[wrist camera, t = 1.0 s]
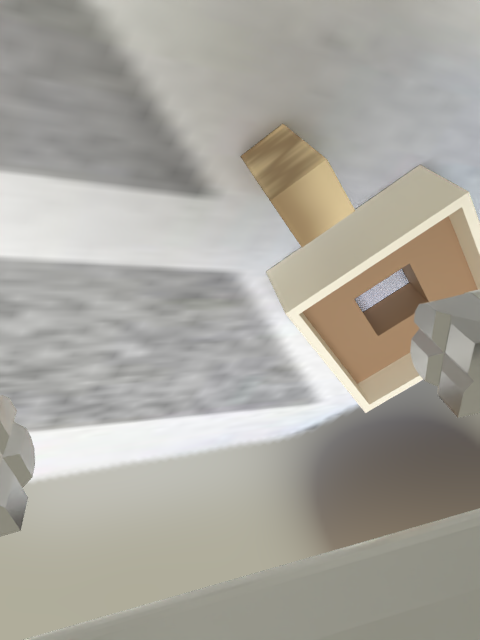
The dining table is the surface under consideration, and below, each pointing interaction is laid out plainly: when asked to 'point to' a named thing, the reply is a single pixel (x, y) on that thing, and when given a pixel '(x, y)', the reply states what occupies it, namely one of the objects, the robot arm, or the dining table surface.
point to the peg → (298, 184)
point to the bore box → (373, 267)
